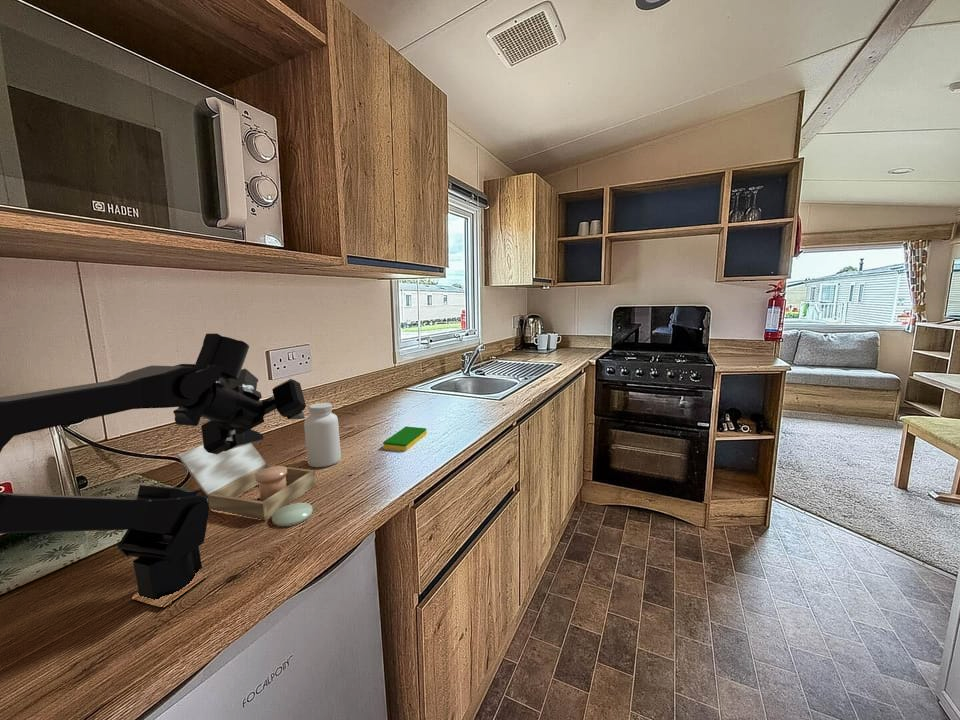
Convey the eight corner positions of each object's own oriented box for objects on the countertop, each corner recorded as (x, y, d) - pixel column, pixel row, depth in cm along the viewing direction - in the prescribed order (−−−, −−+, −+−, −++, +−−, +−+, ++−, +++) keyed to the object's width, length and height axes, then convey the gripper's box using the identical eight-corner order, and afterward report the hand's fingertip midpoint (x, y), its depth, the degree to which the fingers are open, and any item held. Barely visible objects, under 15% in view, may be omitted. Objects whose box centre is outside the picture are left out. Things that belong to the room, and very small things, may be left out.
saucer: (294, 529, 69) (294, 525, 69) (263, 523, 71) (263, 519, 71) (320, 508, 76) (320, 505, 76) (291, 504, 78) (290, 500, 78)
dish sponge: (382, 450, 106) (382, 442, 106) (406, 433, 119) (405, 426, 119) (406, 452, 104) (405, 444, 104) (427, 435, 117) (426, 427, 117)
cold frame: (264, 521, 72) (258, 464, 70) (184, 507, 77) (176, 454, 75) (316, 485, 86) (312, 437, 84) (245, 475, 91) (239, 429, 89)
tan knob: (274, 507, 76) (271, 479, 76) (251, 504, 78) (248, 476, 77) (295, 493, 82) (293, 467, 81) (273, 490, 84) (270, 464, 83)
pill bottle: (340, 453, 103) (336, 399, 101) (341, 465, 96) (337, 407, 93) (308, 458, 100) (303, 403, 98) (307, 470, 93) (301, 411, 91)
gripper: (264, 341, 67) (314, 373, 81) (168, 390, 67) (235, 413, 81) (277, 394, 62) (328, 418, 76) (173, 447, 62) (243, 461, 76)
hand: (283, 426), depth 77 cm, fingers open, 9 cm apart
